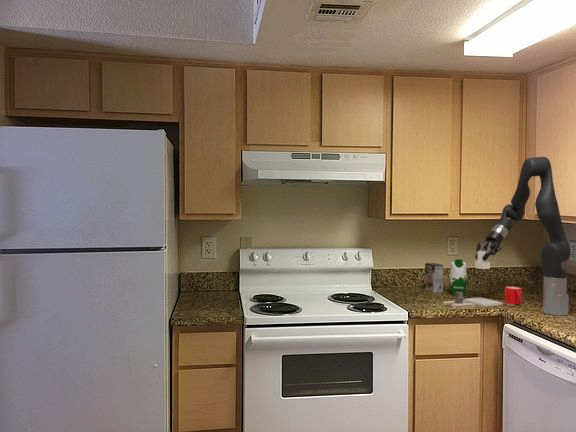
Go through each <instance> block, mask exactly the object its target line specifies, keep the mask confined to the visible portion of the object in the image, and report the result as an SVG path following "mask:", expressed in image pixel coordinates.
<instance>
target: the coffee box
mask: <svg viewBox="0 0 576 432" xmlns="http://www.w3.org/2000/svg"><path fill="white" fill-rule="evenodd" d="M424 265H425V266H424V268H425V269H424V273H425V274H424V275H425V276H424V283H425V284H424V290H425V291H429V292H432V293H443V291H444V290H443V288H444V264H440V263H435V262H425V264H424Z"/></svg>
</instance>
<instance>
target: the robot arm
mask: <svg viewBox="0 0 576 432" xmlns="http://www.w3.org/2000/svg"><path fill="white" fill-rule="evenodd" d="M533 177H539V179H540V188H539V189H540V190H539V191H538V194H537V196H536V199H535V204H534V205H535V211H536V216H537V218H538V221H540V224H542V226H543V227H544V229H545V231H546V233H547V234H548V238H549V242H548V243H545V244H544V245H542V247H541V252H540V253H541V255H540V256H541V257H540V258H541V259H540V260H541V261H540V263H541V270H542V273H543V286H542V287H543V290H542V292H543V294H542V297H543V298H542V299H543V302H542V304H543V305H542V313H544V314H545V315H546V314H547V315H552V316H558V317H562V316H567V315H569V293H567V282H568V281H567V278H568V277H567V273H568V272H567V271H566V270H564V269H563V268H562V262H566V261H568V260H569V259H570V257H571V248H570V244H569V242H568V239H567V236H566V233H565V230H564V226H563V222H562V218H561V213H560V208H559V205H558V200H557V195H556V191H555V186H554V179H553V178H554V177H553V169H552V165H551V161H550V159H549V158H548V157H547V156H538V157H537V156H535V157H528V158H526V159H525V160H524V161H523V163H522V166H521V168H520V173H519V178H518V183H517V186H516V189H515V191H514V194H513V196H512V197H511V201H510V204H507V205H505V206H504V207H503V209H502V212H501V216H500V218H499V219H498V221H497V223H496V224H495V225H494V226H493V227H492V229H491V230H490V231H489V233H488V234H487V235H486V238H485V240H484V242H480V241H479V242H478V244H477V247H476V248H475V251H476V252H477V253H476V254H475V257H474V258H475V259H476V261H478V252H480V251H483V252H486V253H485V255H484V256H483V257H482V259H483V260H484V261H486V260H487V258H488V259H489V257H491V256H495V255H496V254H497V253H498V252H499V251H501V249H502V246H501V244H502V242H503V241H504V240H505V238H506V236H507V235H508V233H509V232H510V230H511V229H512V227H513V226H514V225H513V221H514V222H516V223H517V222H521V221H522V220H523V219H524V216H525V209H526V205H527V203H528V200H529V198H530V196H531V189H530V187H529V181H530V179H531V178H533Z"/></svg>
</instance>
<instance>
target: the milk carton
mask: <svg viewBox="0 0 576 432" xmlns="http://www.w3.org/2000/svg"><path fill="white" fill-rule="evenodd" d="M449 288H450V293H451V295H452V296H455V292H463V296H466V293H467V292H466V291H467V264H466V262H464V261H463V259H460V258H459V259H458V258H455V259H454V261H450V264H449Z"/></svg>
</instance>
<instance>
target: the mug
mask: <svg viewBox="0 0 576 432" xmlns="http://www.w3.org/2000/svg"><path fill="white" fill-rule="evenodd" d="M522 299H523V288H522V287H519V286H514V285H513V286H512V285H511V286H510V285H508V286H507V285H506V286H504V303H506V304H509V305H522V303H523V301H522Z"/></svg>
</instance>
